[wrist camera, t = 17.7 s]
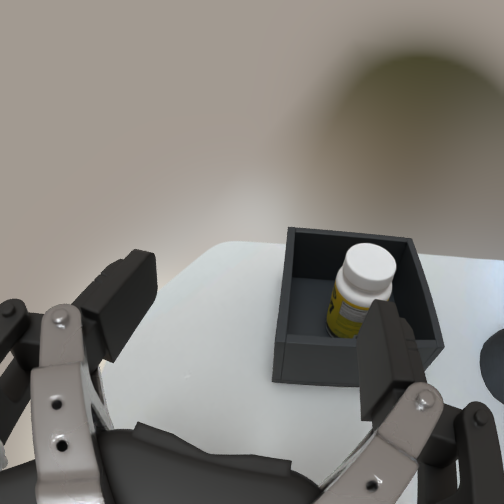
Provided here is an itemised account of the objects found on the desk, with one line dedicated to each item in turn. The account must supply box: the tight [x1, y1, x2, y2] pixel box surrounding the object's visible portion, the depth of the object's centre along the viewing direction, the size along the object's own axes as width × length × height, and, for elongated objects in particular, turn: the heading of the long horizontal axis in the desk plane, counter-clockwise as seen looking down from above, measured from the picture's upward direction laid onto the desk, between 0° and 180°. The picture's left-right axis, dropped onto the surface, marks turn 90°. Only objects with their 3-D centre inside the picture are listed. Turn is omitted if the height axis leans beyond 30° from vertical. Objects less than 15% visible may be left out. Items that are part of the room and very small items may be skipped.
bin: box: [272, 227, 445, 387], centre depth 25 cm, size 12×12×7 cm
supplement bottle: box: [326, 243, 396, 339], centre depth 24 cm, size 5×5×8 cm
